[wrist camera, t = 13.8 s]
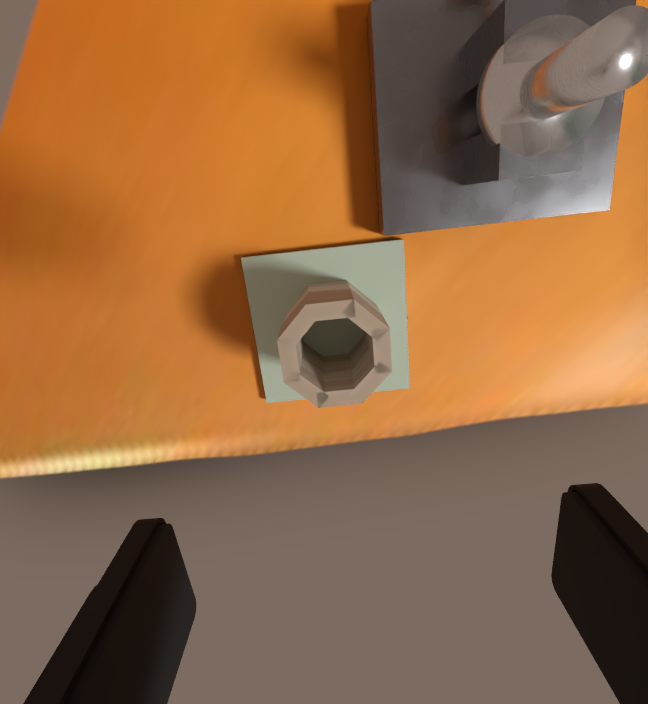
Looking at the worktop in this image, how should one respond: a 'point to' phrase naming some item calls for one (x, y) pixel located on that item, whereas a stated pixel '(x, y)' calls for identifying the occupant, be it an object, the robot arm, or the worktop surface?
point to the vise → (498, 107)
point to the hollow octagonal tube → (338, 370)
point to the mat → (337, 334)
